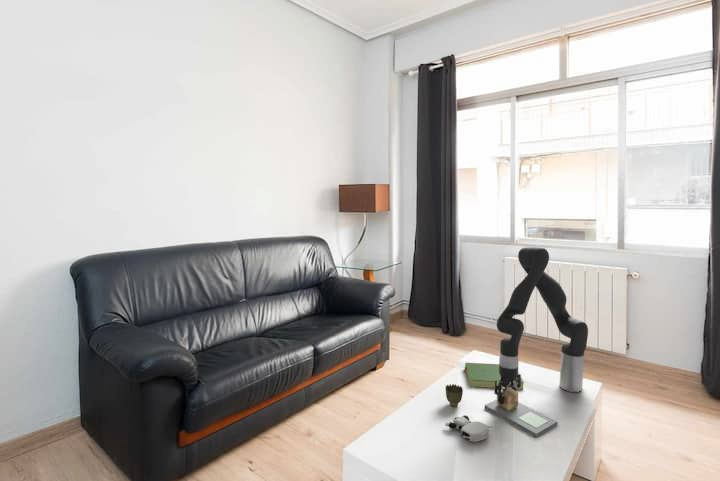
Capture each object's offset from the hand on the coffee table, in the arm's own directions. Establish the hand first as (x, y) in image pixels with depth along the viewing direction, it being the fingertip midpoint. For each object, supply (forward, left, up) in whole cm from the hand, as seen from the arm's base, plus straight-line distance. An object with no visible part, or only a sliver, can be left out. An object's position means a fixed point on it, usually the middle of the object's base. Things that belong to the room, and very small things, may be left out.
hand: (507, 400), depth 165 cm
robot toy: (+26, +2, -5) cm, 26 cm away
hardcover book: (-18, -22, -5) cm, 29 cm away
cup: (+16, -15, -4) cm, 22 cm away
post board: (0, +6, -4) cm, 7 cm away
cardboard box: (0, 0, -2) cm, 2 cm away
